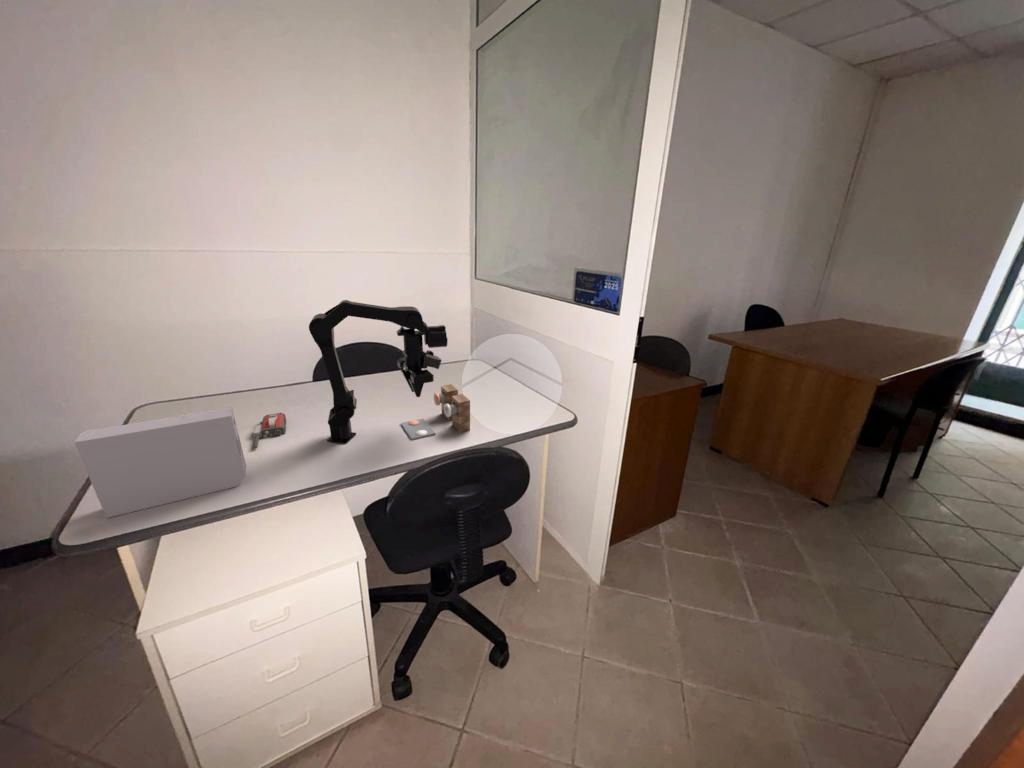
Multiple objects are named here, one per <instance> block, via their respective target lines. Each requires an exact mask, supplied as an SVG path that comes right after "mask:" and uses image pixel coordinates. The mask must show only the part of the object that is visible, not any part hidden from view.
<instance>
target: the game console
mask: <svg viewBox="0 0 1024 768" xmlns="http://www.w3.org/2000/svg"><path fill="white" fill-rule="evenodd" d="M233 409H234V408H233V407H232V406H230V407H225V408H220V409H212V410H207V411H206V410H204V411H200V412H192V413H186V414H184V415H179V416H170V417H166V418H160V419H153V420H146V421H140V422H134V423H128V424H127V423H126V424H122V425H115V426H109V427H104V428H98V429H97V428H92V429H87V430H85V431H83V432H80V434H79V435H78V437H77V438H76V439H75V441H74V444H75V447H76V449H77V452H78V455H79V456H80V459H81V461H82V463H83V466H84V468H85V470H86V473H87V475H88V478H89V480H90V482H91V485H92V488H93V490H94V493H95V494H96V498H97V500H98V502H99V505H100V506H101V508H102V511H103V514H104V515H105V518H106V519H109V518H112V517H118V516H120V515H125V514H126V515H127V514H128V513H135V512H137V511H142V510H145V509H150V508H154V507H157V506H163V505H166V504H170V503H174V502H178V501H179V502H180V501H183V500H186V499H190V498H191V499H192V498H196V497H198V496H204V495H207V494H210V493H211V494H212V493H215V492H218V491H219V492H220V491H224V490H227V489H232V488H235V487H239V486H240V485H241V483H243V481H244V480H245V478H246V477H247V462H246V459H245V455H244V450H243V447H242V443H241V438H240V434H239V430H238V427H237V426H238V425H237V421H236V418H235V414H234V410H233Z"/></svg>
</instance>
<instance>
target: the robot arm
mask: <svg viewBox="0 0 1024 768" xmlns="http://www.w3.org/2000/svg"><path fill="white" fill-rule="evenodd" d="M348 317H353V318H360V319H369V320H373V321H374V320H375V321H382V322H389V323H393V324H395V325H397V326H400V328H398V330H396V335H397V337H401V336H402V338H403V348H404V349H403V350H402V354H403V355H404V356H403V357H399V358H398V359H397V367H398V368H399V369H400V372H401V374H402V375H403V377H404V378H405V381H406V383H407V385H408V387H409V388H410V391H411V392H412V393H414V395H415V396H416V398H420V397H421V395H422V391H423V387H424V385H425V384H427V383H433V382H434V380H435V379H434V378H435V377H434V375H435V374H433V373H432V372H431V371H430V370H428V368H434V369H436V370H439V369H440V366H441V364H442V359H441V358H440V357H439V356H437V355H434V352H433V351H432V350H429V349H431V348H447V347H448V336H447V331H446V326H445V324H442V325H440V324H439V325H433V326H432V325H431V326H430V325H429V326H428V324H427V323H426V322H425V321H424V320H423V315H422V314H421V312H420V310H419V309H418V308H417V307H415V306H412V305H411V306H394V307H392V306H391V307H390V306H389V307H388V306H384V305H383V306H382V305H376V304H370V303H369V304H368V303H364V302H363V303H362V302H356V301H351V300H347V299H345V300H344V299H343V300H341V301H340V302H339V303H338V304H337V305H335V306H333V307H332V308H329V309H328V310H327V311H325V312H324V313H317V314H315V315H314V316H313V317H312V319H311V320H310V322H309V325H308V331H309V332H310V334H311V336H312V339H313V340H314V343H316V345H317V347H318V348H319V350H320V352H321V357H322V359H323V362H324V363H323V364H324V367H325V371H326V372H327V376H328V381H329V383H330V386H331V390H332V394H333V395H332V397H333V399H332V400H333V401H332V402H333V406H332V408H331V409H330V410H329V415H328V419H327V424H328V426H329V432H330V436H329V438H327V439H326V440H327V443H328V442H329V443H337V444H347V443H349V442H350V441H351V440H352V439H353V438H354V437H355V436H356V435H357V433H356V432H354V431H353V432H352V423H351V419H352V418H353V417H354V415H355V410H356V409H357V401H358V400H357V398H356V397H355V389H351V390H349V388H348V387H347V385H346V382H345V377H344V373H343V371H342V366H341V364H340V363H341V362H340V360H339V355H338V352H337V349H336V346H335V329H334V328H335V327H336V326H338V325H339V324H340V323H342V322H343V321H344V320H345V319H346V318H348ZM424 345H425V346H426V345H427V347H428V348H429V349H428V350H427V351H424ZM402 368H403V369H402Z"/></svg>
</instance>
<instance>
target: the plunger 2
mask: <svg viewBox="0 0 1024 768" xmlns="http://www.w3.org/2000/svg"><path fill="white" fill-rule="evenodd" d="M444 412H445V415H446V416H447V417H450V416H451V415H452V414H456V413H458V406H457V405H456V404H453V405H449V404H445V405H444Z"/></svg>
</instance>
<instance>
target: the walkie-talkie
mask: <svg viewBox="0 0 1024 768" xmlns="http://www.w3.org/2000/svg"><path fill="white" fill-rule="evenodd" d="M286 417H287V416H286V414H285V413H283V412H280V413H279V412H277V413H271V414H266V415H264V416H263V417H262V422H261V424H259V425H257V426H255V427H254V430H253V432H252V435H253V439H254V442H253V448H254V449H258V446H259V442H260V439H261V438H264V439H266V438H271V437H279V436H283V435H285V434H286V432H287V430H286V429H287V418H286Z"/></svg>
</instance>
